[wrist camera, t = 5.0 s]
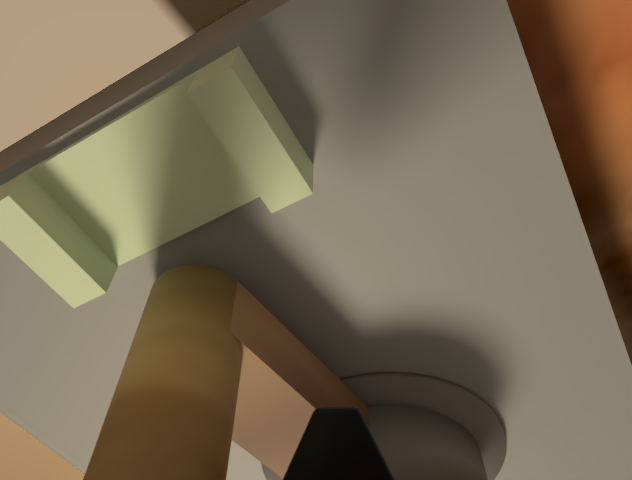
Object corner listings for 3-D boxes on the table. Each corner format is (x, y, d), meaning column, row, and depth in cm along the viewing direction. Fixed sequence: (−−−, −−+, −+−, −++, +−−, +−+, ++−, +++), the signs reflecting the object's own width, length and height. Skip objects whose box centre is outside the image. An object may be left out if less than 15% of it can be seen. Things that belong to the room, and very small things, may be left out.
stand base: (637, 420, 18) (690, 514, 15) (252, 535, 22) (244, 626, 19) (443, -117, 10) (488, -100, 7) (-120, 224, 13) (-217, 312, 11)
